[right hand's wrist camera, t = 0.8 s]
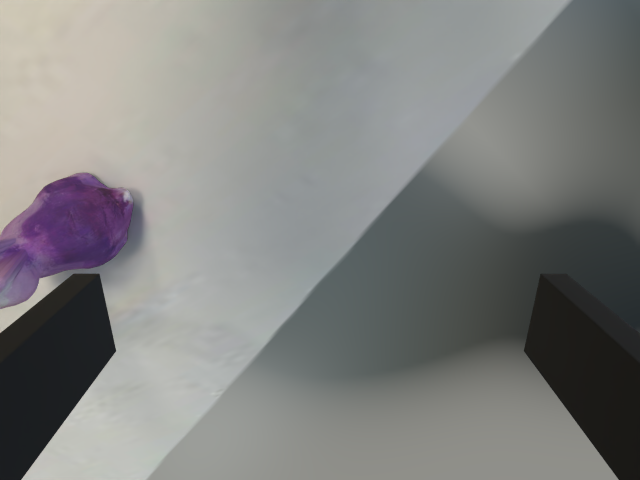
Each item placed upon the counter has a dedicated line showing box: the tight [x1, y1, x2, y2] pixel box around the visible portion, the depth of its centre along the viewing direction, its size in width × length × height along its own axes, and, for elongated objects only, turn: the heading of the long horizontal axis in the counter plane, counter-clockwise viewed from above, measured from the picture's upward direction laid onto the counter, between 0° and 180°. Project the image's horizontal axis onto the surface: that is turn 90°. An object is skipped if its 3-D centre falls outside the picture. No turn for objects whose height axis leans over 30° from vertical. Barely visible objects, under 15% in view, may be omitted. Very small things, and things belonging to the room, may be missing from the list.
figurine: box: [0, 173, 133, 309], centre depth 33 cm, size 9×10×15 cm
